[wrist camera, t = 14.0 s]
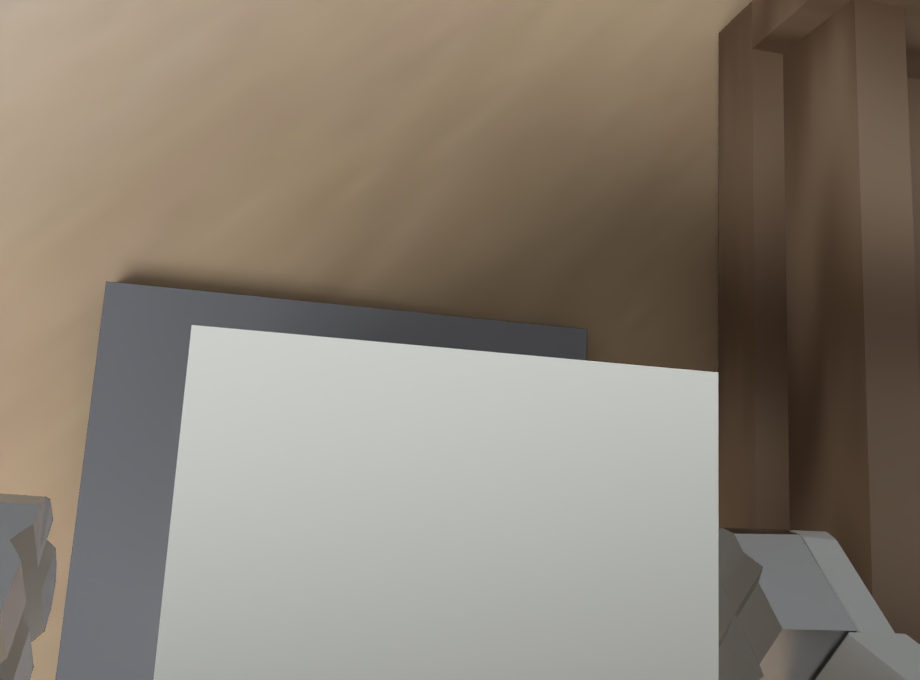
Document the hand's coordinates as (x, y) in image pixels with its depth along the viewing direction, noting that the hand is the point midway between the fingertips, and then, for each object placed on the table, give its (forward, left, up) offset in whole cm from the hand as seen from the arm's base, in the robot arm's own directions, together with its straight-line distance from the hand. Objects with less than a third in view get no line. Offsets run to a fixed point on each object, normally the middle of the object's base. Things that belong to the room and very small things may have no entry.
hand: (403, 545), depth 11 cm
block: (-1, 0, -7) cm, 7 cm away
